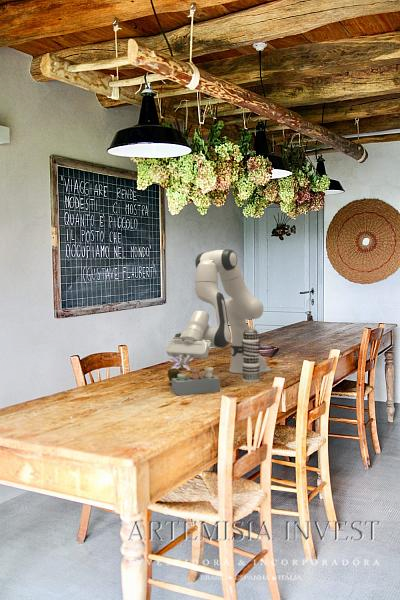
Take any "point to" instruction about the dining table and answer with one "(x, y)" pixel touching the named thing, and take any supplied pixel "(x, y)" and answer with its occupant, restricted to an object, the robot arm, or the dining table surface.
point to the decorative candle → (251, 355)
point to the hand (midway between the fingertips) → (182, 363)
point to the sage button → (182, 377)
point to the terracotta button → (195, 373)
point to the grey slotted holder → (195, 385)
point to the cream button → (208, 372)
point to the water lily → (177, 360)
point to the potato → (173, 373)
